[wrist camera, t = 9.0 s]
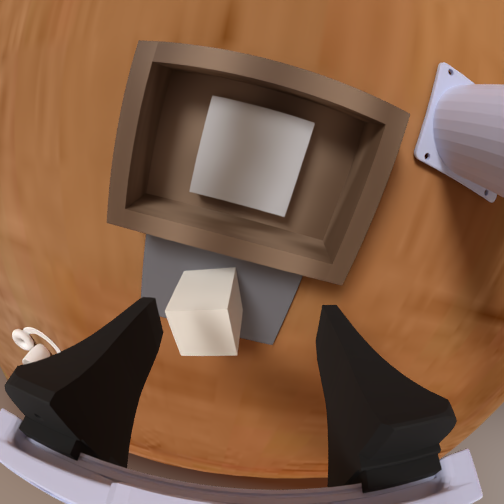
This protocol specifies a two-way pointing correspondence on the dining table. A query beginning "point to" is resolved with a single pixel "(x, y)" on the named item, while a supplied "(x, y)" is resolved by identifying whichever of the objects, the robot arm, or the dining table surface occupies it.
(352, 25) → the dining table surface
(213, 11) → the dining table surface
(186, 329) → the cream block
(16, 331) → the teacup and saucer
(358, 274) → the dining table surface
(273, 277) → the charcoal mat
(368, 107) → the walnut box
